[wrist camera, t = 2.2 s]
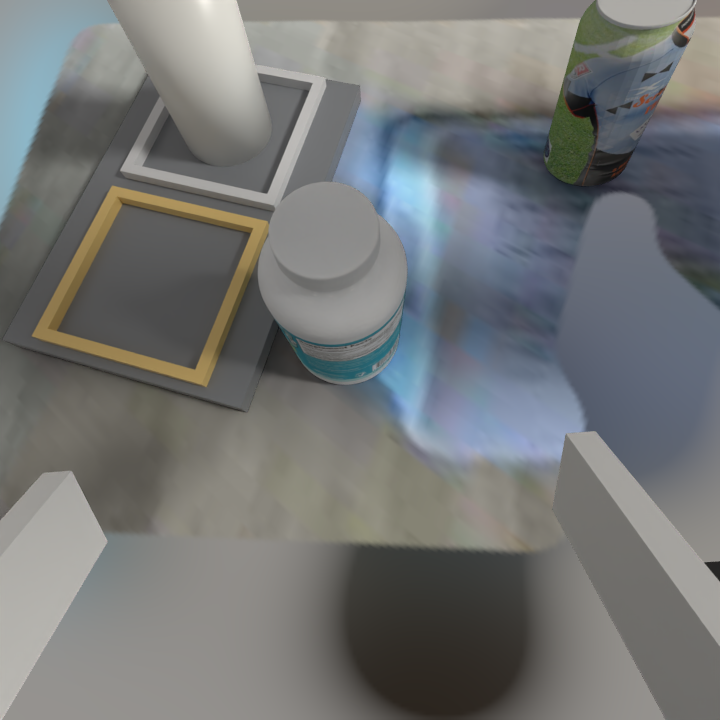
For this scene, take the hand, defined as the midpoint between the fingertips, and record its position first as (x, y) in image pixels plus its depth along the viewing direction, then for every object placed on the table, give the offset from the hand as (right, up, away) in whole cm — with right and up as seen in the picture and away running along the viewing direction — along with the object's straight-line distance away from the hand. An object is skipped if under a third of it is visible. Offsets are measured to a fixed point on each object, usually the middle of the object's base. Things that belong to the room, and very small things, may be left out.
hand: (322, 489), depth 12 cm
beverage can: (+18, +19, +23) cm, 35 cm away
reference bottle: (-10, +22, +23) cm, 33 cm away
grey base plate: (-11, +15, +22) cm, 29 cm away
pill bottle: (0, +5, +19) cm, 20 cm away
